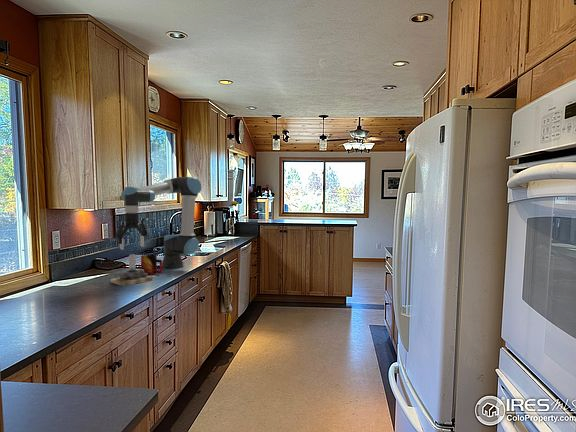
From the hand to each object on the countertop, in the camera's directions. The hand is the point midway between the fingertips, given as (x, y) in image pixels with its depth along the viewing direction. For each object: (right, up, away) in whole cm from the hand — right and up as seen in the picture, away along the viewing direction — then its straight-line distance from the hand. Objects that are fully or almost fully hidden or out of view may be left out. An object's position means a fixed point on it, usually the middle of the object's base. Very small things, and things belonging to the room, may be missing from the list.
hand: (132, 247), depth 230 cm
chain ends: (0, -20, +1) cm, 20 cm away
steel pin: (0, -18, +1) cm, 18 cm away
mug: (+4, -19, +23) cm, 30 cm away
